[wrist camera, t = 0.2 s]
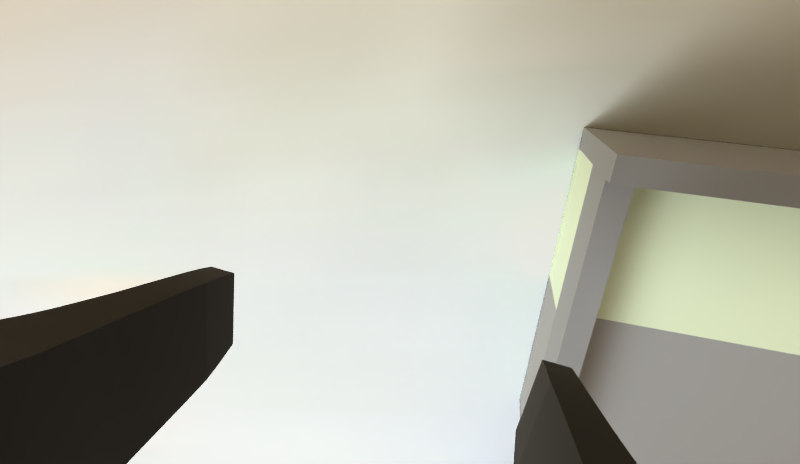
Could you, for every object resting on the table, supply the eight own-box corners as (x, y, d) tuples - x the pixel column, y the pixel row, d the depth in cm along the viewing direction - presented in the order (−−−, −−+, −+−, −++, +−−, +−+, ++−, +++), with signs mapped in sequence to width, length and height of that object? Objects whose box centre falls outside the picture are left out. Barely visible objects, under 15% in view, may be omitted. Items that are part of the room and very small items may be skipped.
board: (806, 617, 22) (894, 779, 17) (489, 528, 25) (484, 643, 20) (1124, 185, 13) (1491, 257, 8) (584, 127, 16) (617, 154, 11)
